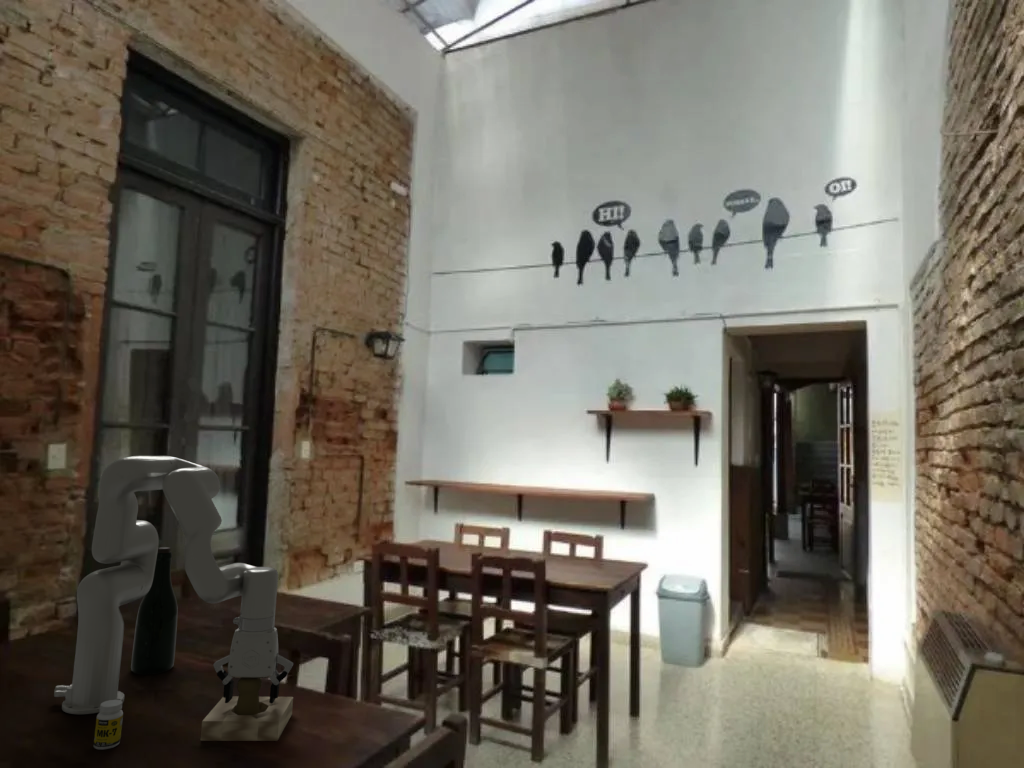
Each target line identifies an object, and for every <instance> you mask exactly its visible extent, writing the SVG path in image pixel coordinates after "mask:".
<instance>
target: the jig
mask: <svg viewBox="0 0 1024 768" xmlns="http://www.w3.org/2000/svg"><path fill="white" fill-rule="evenodd" d="M238 697H239V695H238V696H237V695H236V696H235V695H234V696H233V697H232V699H231V700H230V701H229V702H228V703H225V698H223V697H221V699H220V700H219V701H218V702H217V703H216V705H215V706H213V708H212V709H211V710H210V711H209V713H208V714H207V715H206V716H205V717H204V718H203V720H202V721H201V732H200V740H199V741H201V742H204V741H205V742H206V741H210V742H211V741H212V742H217V741H220V742H222V741H223V742H225V741H226V742H229V741H230V742H231V741H233V742H238V741H241V742H242V741H243V742H244V741H247V742H250V741H253V742H257V741H260V742H265V741H266V742H268V741H269V742H274V741H275V742H277V741H278V740H279V739H280V738H281V735H282V734H283V731H284V730H285V728H286V726H287V724H288V722H289V721H290V718H291V717H292V716H293V707H294V706H293V704H294V697H293V696H278V698H276V699H275V701H274V702H273V703H269V701H270V696H259V710H260V713H258V714H255V715H237V714H235V710H236V706H237V701H238Z"/></svg>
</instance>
